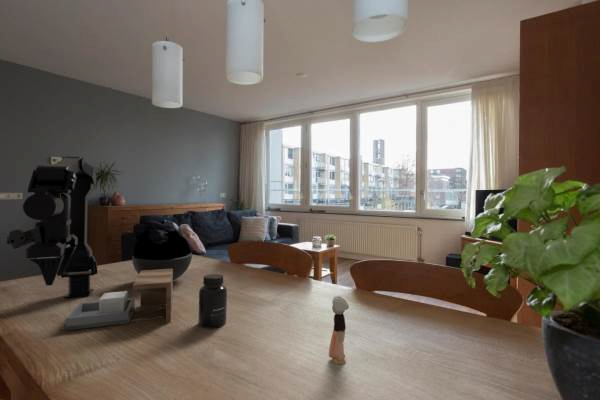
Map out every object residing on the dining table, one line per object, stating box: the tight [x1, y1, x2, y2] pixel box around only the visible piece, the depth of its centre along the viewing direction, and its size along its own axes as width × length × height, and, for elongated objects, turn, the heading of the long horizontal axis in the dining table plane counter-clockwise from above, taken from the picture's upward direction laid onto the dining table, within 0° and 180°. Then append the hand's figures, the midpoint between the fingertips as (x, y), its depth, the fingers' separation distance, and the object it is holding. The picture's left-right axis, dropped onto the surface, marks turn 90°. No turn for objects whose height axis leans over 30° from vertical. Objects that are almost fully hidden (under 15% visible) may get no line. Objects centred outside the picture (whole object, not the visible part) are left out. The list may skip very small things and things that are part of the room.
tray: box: [65, 297, 136, 331], centre depth 82 cm, size 11×13×3 cm
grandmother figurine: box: [328, 295, 350, 365], centre depth 63 cm, size 8×4×13 cm, turn 5°
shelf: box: [132, 269, 174, 324], centre depth 86 cm, size 15×8×10 cm, turn 20°
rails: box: [61, 306, 166, 330], centre depth 83 cm, size 8×23×1 cm, turn 110°
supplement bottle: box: [198, 273, 228, 329], centre depth 80 cm, size 7×7×12 cm
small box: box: [98, 290, 129, 314], centre depth 82 cm, size 6×6×5 cm
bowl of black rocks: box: [131, 229, 193, 281], centre depth 115 cm, size 20×20×19 cm
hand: (54, 280), depth 78 cm, fingers open, 9 cm apart
